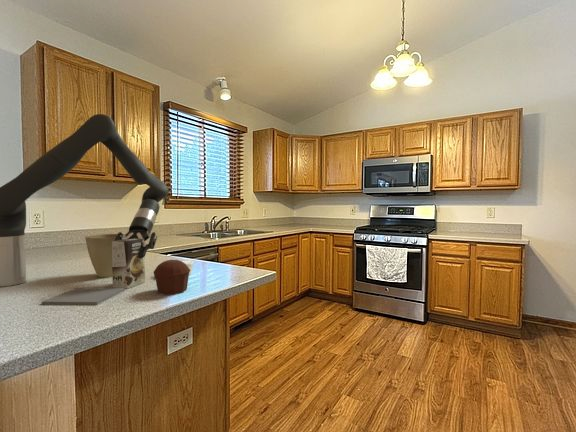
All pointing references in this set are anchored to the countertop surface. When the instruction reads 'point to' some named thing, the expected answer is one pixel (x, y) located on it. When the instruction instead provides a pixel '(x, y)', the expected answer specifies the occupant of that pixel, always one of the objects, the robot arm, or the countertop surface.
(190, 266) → the ramekin
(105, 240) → the plant pot
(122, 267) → the coffee box
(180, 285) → the muffin
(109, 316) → the countertop surface
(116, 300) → the countertop surface
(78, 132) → the robot arm
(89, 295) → the mat
